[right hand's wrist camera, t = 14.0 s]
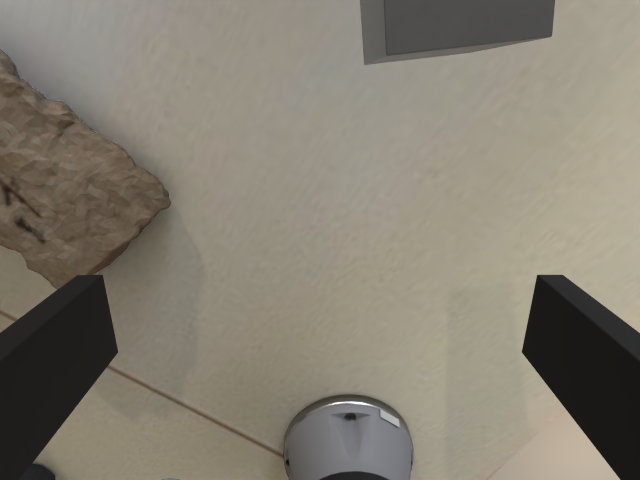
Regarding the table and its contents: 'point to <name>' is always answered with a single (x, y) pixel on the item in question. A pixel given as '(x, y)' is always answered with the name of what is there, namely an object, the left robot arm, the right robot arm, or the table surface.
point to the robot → (37, 473)
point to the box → (449, 26)
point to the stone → (65, 186)
